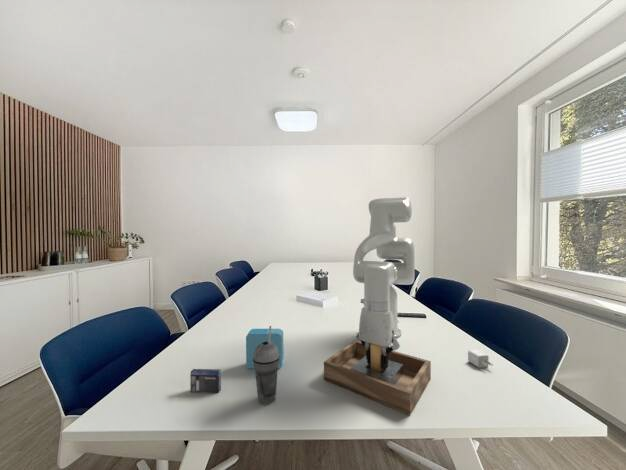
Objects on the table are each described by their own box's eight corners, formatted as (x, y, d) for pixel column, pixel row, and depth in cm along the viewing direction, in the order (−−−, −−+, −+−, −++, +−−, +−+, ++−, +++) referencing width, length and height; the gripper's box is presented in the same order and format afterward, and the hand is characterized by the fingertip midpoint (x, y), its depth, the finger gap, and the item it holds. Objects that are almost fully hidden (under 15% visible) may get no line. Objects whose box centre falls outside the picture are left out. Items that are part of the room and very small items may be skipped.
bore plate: (368, 362, 88) (367, 353, 88) (403, 374, 81) (403, 364, 81) (350, 378, 79) (350, 368, 79) (388, 393, 72) (388, 382, 72)
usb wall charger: (478, 360, 91) (478, 349, 91) (495, 371, 84) (495, 358, 84) (468, 361, 90) (468, 350, 90) (484, 372, 84) (484, 359, 84)
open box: (355, 355, 96) (355, 340, 96) (430, 378, 80) (430, 361, 80) (323, 379, 80) (323, 362, 80) (410, 415, 64) (409, 393, 64)
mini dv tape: (190, 392, 74) (190, 371, 74) (193, 389, 76) (193, 368, 76) (218, 393, 74) (218, 372, 74) (220, 390, 76) (220, 369, 76)
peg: (368, 372, 80) (368, 339, 80) (373, 366, 83) (373, 335, 83) (380, 376, 77) (380, 343, 77) (385, 370, 80) (385, 338, 80)
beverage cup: (255, 392, 74) (254, 322, 74) (280, 390, 75) (280, 321, 75) (251, 409, 67) (250, 332, 67) (279, 407, 68) (278, 330, 67)
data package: (283, 362, 91) (283, 328, 91) (282, 369, 87) (281, 333, 87) (249, 362, 91) (249, 328, 91) (246, 369, 87) (245, 333, 87)
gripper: (346, 303, 82) (347, 361, 82) (399, 313, 72) (399, 379, 72) (358, 298, 88) (358, 352, 88) (408, 306, 78) (408, 367, 78)
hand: (377, 363), depth 80 cm, fingers closed on peg, 3 cm apart
